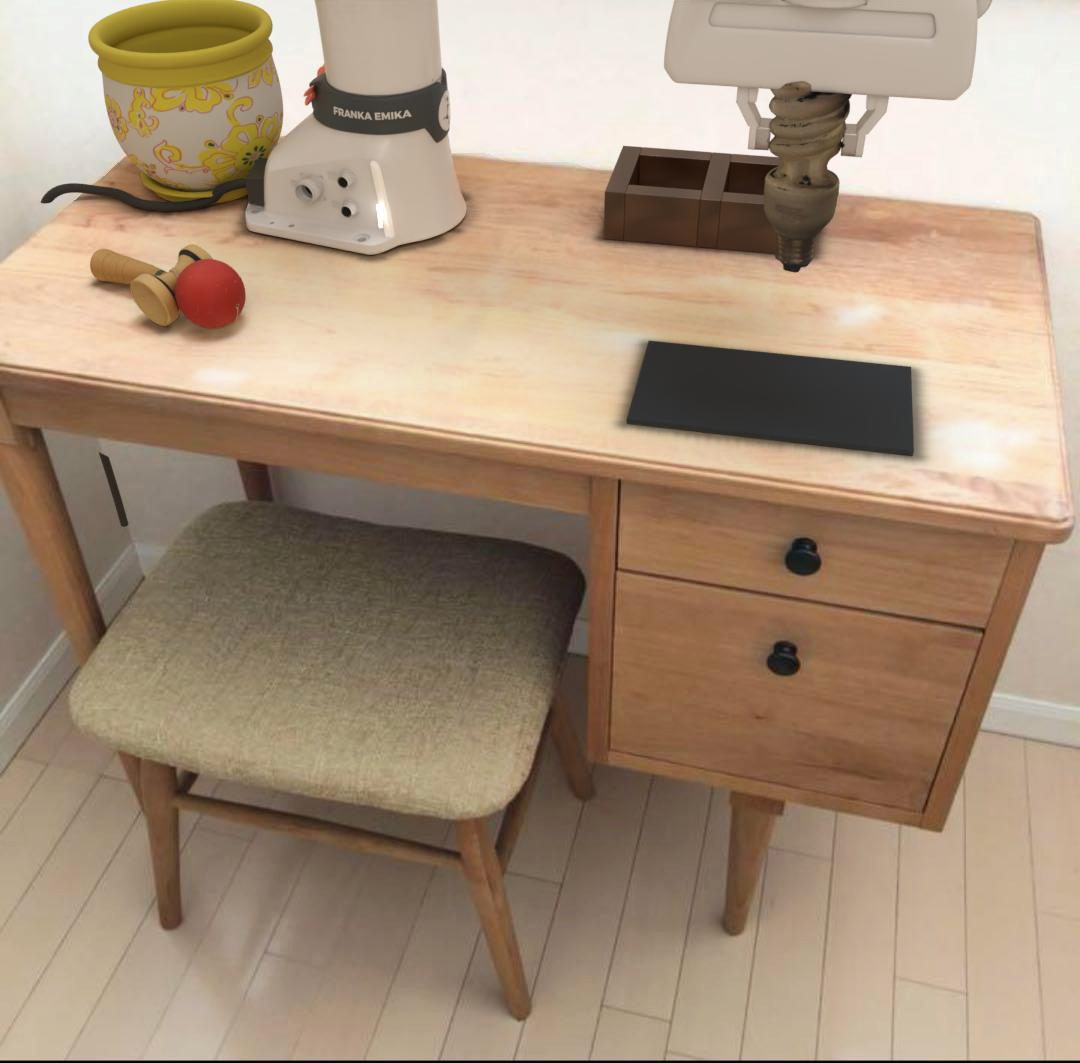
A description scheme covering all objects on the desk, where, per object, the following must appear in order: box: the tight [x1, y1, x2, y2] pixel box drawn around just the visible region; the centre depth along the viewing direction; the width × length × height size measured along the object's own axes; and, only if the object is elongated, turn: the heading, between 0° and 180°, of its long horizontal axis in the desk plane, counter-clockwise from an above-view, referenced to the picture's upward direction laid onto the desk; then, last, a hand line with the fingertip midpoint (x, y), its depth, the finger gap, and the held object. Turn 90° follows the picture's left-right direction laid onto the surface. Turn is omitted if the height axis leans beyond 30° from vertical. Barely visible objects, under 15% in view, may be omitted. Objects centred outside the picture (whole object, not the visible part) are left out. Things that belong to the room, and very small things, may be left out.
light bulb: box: [764, 81, 853, 273], centre depth 87 cm, size 6×6×15 cm
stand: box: [603, 145, 780, 255], centre depth 121 cm, size 20×11×5 cm, turn 78°
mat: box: [626, 340, 915, 456], centre depth 99 cm, size 22×12×1 cm, turn 78°
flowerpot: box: [87, 0, 284, 205], centre depth 127 cm, size 18×18×16 cm
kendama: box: [89, 243, 247, 329], centre depth 110 cm, size 8×6×18 cm
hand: (804, 150), depth 86 cm, fingers closed on light bulb, 5 cm apart
